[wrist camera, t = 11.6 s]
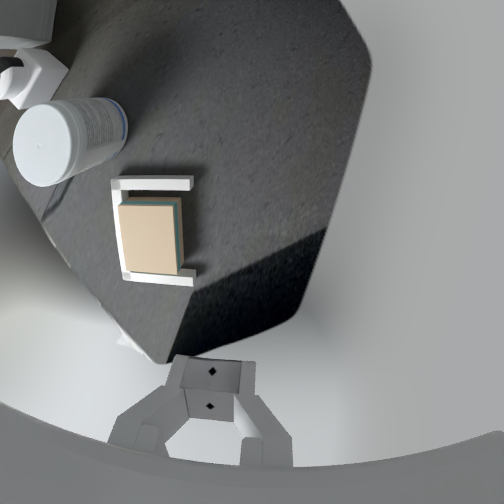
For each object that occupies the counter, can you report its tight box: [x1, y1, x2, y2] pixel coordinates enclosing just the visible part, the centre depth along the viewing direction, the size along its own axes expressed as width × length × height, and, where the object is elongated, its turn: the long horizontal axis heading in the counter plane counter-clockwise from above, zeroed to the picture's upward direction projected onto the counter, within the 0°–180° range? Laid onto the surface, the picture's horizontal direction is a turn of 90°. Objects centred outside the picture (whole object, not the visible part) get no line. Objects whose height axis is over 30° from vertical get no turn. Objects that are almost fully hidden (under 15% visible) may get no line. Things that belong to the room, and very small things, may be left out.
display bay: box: [111, 175, 196, 286], centre depth 43 cm, size 16×12×2 cm
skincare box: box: [0, 0, 57, 49], centre depth 23 cm, size 8×7×16 cm
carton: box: [118, 197, 184, 275], centre depth 43 cm, size 10×8×4 cm
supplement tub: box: [13, 98, 128, 187], centre depth 32 cm, size 10×10×15 cm
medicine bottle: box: [0, 47, 69, 110], centre depth 29 cm, size 7×7×12 cm
